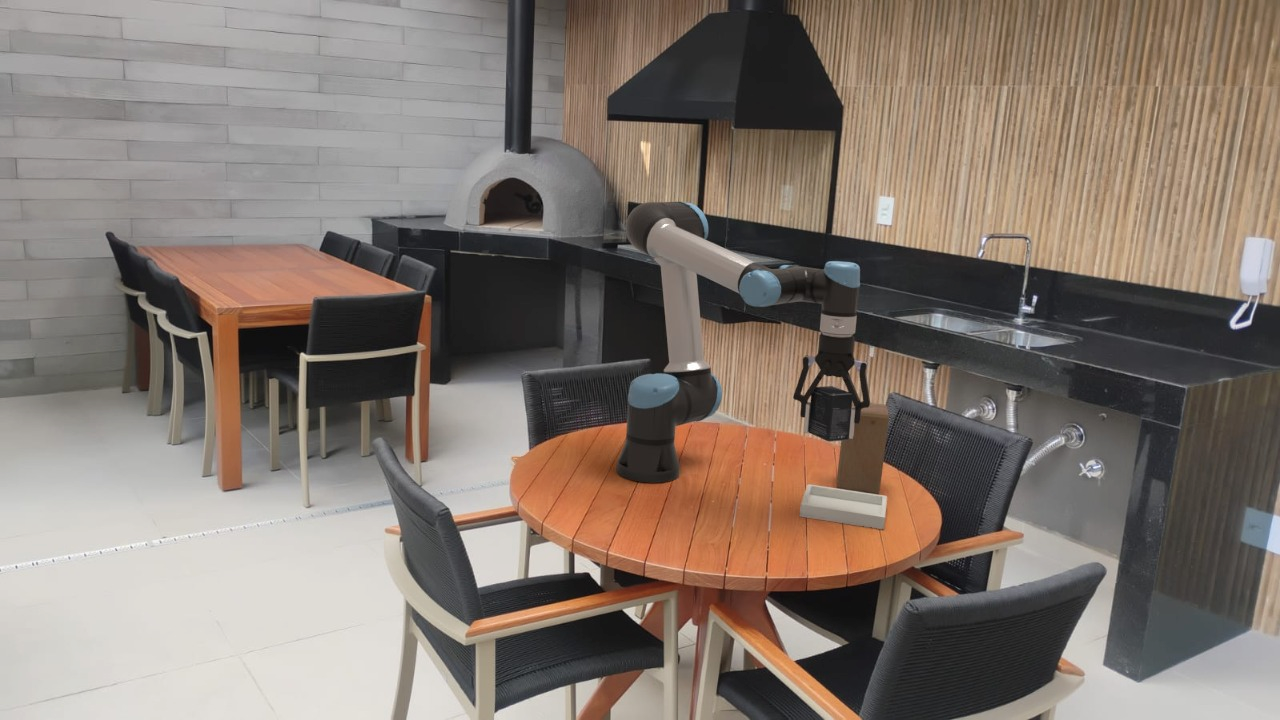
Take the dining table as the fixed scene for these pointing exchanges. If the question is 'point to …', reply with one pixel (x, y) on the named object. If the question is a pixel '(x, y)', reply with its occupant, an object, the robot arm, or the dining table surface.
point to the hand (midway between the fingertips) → (828, 434)
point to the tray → (844, 506)
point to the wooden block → (864, 452)
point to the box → (830, 413)
